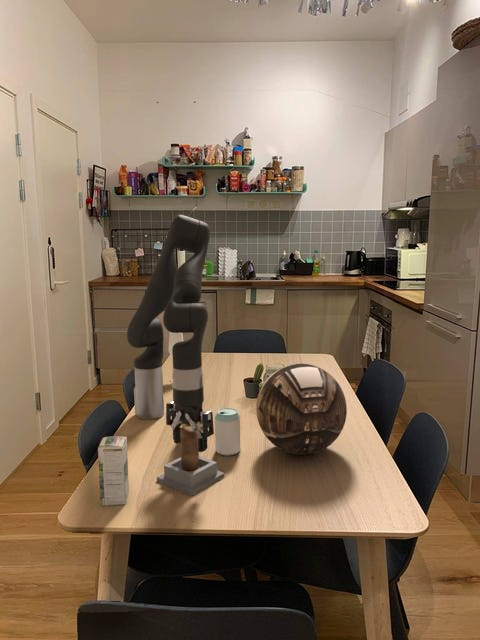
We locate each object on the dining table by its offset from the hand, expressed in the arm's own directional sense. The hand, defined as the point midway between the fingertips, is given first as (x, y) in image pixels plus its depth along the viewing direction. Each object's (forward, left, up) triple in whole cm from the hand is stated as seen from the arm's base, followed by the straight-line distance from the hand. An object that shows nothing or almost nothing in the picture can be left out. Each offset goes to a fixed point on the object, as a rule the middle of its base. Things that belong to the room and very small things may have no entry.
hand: (189, 446), depth 126 cm
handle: (0, 0, -8) cm, 8 cm away
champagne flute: (-65, +58, -9) cm, 88 cm away
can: (-3, +18, -9) cm, 20 cm away
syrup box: (-7, -18, -9) cm, 21 cm away
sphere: (+13, +31, -9) cm, 35 cm away
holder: (0, 0, -9) cm, 9 cm away
